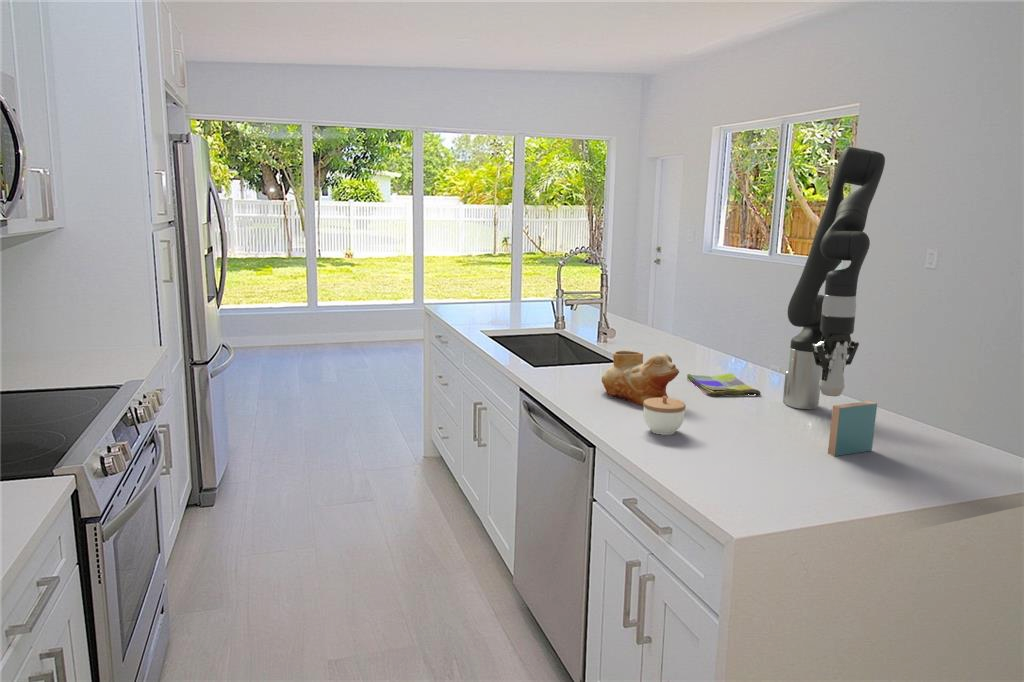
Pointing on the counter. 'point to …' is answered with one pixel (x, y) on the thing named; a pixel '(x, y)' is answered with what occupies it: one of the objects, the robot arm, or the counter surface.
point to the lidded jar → (663, 414)
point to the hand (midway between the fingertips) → (831, 382)
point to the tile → (852, 428)
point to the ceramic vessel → (638, 376)
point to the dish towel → (722, 385)
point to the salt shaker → (834, 376)
